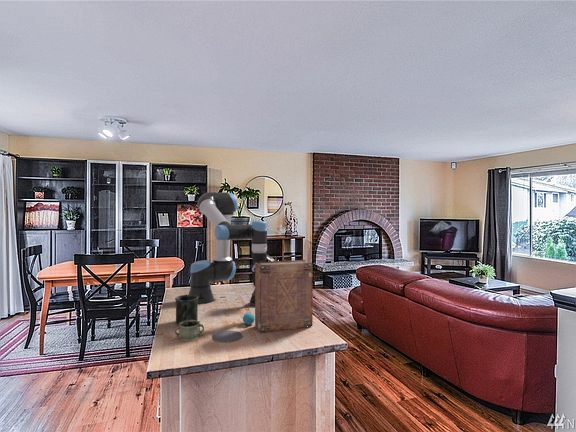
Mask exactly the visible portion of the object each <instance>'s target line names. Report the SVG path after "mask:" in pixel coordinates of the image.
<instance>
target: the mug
mask: <svg viewBox="0 0 576 432" xmlns="http://www.w3.org/2000/svg"><path fill="white" fill-rule="evenodd" d="M198 298H199V297H198V296H197V295H188V294H182V295H178V296H176V297H175V298H174V299H175V323H176V325H177V326H178V325H179V323H181V322H183V321H187V320H197V321H199V320H198V317H199V316H198V315H199V313H198V308H199V307H198V306H199V304H198Z"/></svg>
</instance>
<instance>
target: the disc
mask: <svg viewBox="0 0 576 432" xmlns="http://www.w3.org/2000/svg"><path fill="white" fill-rule="evenodd" d="M243 337H244V335H243V332H241V331H239V330H222V331H217V332H216V333H213V334H212V336H211V338H212V340H213V341H216V342H220V343H232V342H236V341H239V340H242V338H243Z"/></svg>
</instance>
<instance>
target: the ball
mask: <svg viewBox="0 0 576 432" xmlns="http://www.w3.org/2000/svg"><path fill="white" fill-rule="evenodd" d="M242 321H243V323H244V324H245V325H247V326H248V325H252V324H253V323H255V314H253V313H252V312H245V314H244V315H243V316H242Z"/></svg>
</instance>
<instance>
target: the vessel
mask: <svg viewBox="0 0 576 432" xmlns="http://www.w3.org/2000/svg"><path fill="white" fill-rule="evenodd" d="M200 327H201V328H202V330H201V329H200ZM177 330H179V331H178V332H177ZM204 331H205V326H204V325H203V324H202V323H201V322H200V320H187V321H183V322H181V323H179V326H178V325H177V326H175V329H174V334H175V335H176V337H175V338H178V339H179V338H180V340H181V341H184V342H192V341H196V340H198V339H199V338H200V336H202V335H203V332H204Z"/></svg>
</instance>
